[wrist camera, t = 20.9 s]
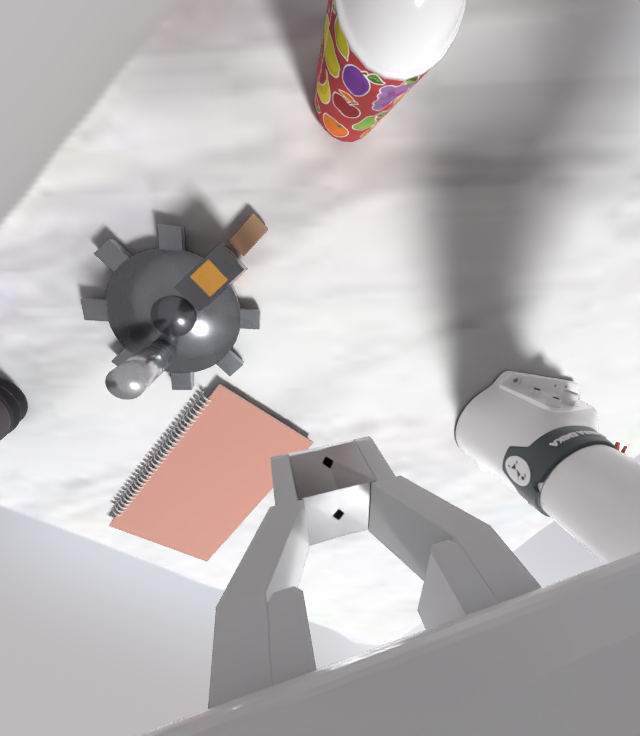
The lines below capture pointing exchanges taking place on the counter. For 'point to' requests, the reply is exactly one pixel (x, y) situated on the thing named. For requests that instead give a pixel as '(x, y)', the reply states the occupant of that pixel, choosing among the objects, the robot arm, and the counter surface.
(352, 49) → the smoothie
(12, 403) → the camera lens
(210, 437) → the notebook
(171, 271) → the sprocket
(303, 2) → the counter surface
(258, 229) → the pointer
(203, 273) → the grey and orange block
